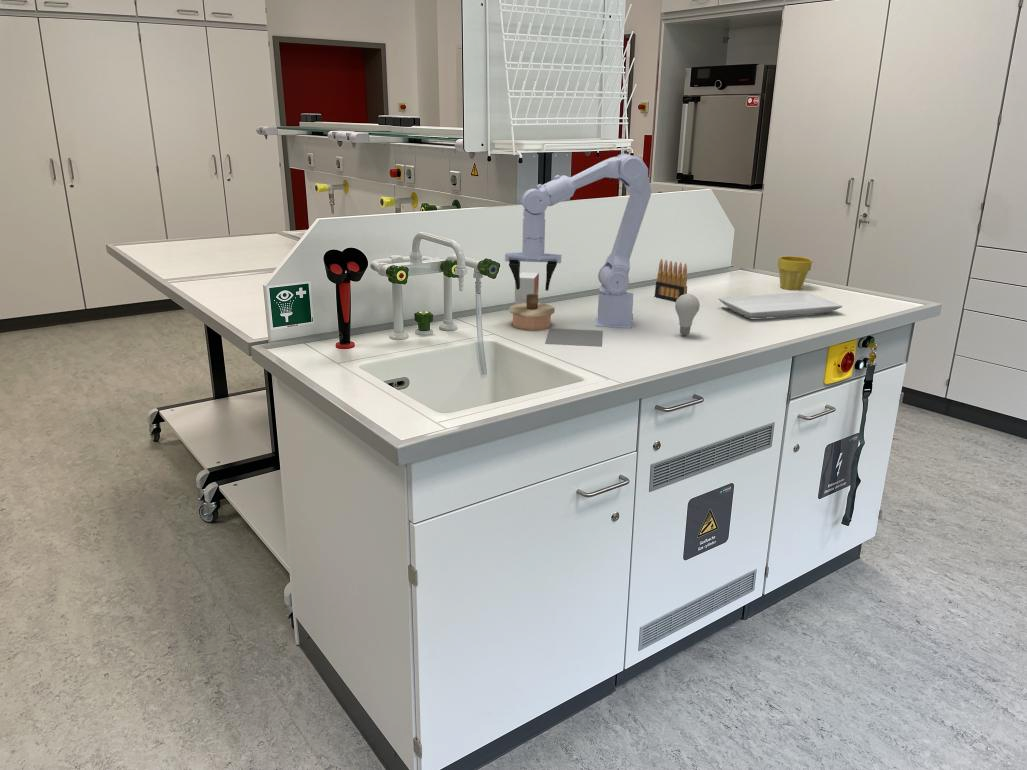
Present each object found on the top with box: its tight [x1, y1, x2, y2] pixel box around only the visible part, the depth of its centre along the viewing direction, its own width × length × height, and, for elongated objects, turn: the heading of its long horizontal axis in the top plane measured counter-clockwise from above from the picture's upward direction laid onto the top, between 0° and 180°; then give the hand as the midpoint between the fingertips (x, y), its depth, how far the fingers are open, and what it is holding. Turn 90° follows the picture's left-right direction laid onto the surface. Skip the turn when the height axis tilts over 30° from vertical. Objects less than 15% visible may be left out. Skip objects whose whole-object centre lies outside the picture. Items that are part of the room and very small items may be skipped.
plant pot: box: [777, 255, 813, 291], centre depth 249 cm, size 10×10×10 cm
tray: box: [717, 291, 843, 319], centre depth 221 cm, size 17×32×4 cm, turn 107°
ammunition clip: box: [654, 258, 688, 303], centre depth 231 cm, size 11×2×12 cm, turn 43°
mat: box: [544, 327, 604, 348], centre depth 193 cm, size 14×14×1 cm
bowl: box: [512, 314, 552, 331], centre depth 203 cm, size 10×10×4 cm
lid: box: [509, 294, 556, 317], centre depth 201 cm, size 12×12×4 cm
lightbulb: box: [674, 293, 701, 337], centre depth 194 cm, size 6×6×11 cm
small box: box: [514, 271, 540, 304], centre depth 216 cm, size 8×6×10 cm
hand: (532, 289), depth 200 cm, fingers open, 7 cm apart
